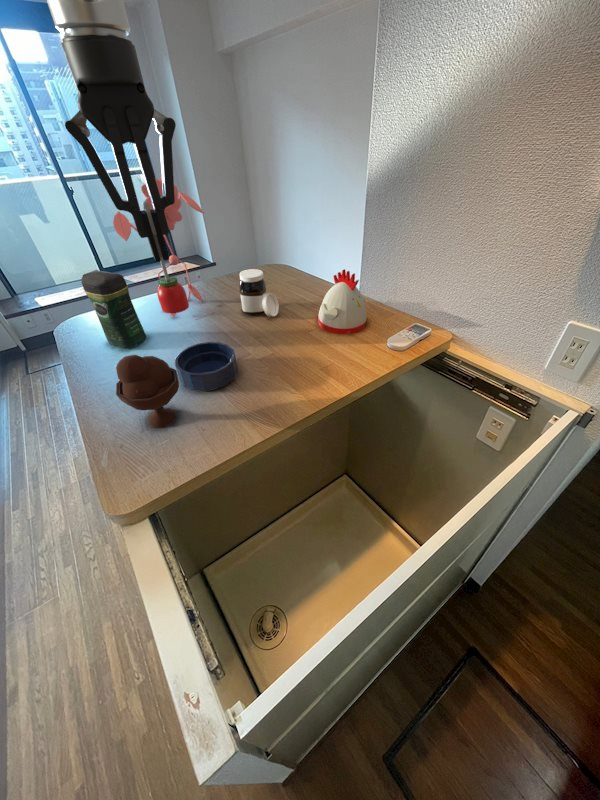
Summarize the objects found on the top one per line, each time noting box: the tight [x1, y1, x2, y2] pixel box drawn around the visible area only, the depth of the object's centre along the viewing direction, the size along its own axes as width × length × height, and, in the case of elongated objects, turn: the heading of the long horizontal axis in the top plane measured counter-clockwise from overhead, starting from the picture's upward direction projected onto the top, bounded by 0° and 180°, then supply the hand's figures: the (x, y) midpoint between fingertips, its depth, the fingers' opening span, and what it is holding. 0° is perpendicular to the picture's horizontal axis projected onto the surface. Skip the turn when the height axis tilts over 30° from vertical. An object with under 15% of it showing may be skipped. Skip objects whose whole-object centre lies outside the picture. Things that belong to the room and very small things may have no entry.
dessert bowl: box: [174, 341, 239, 392], centre depth 75 cm, size 13×13×5 cm
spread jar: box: [238, 268, 280, 318], centre depth 97 cm, size 12×11×12 cm
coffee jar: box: [80, 269, 147, 349], centre depth 83 cm, size 10×8×19 cm
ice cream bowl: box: [115, 354, 180, 429], centre depth 61 cm, size 11×11×15 cm
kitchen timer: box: [317, 268, 368, 335], centre depth 90 cm, size 14×14×15 cm
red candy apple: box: [142, 201, 190, 314], centre depth 52 cm, size 5×5×16 cm
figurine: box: [112, 175, 218, 321], centre depth 91 cm, size 15×26×35 cm, turn 147°
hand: (161, 257), depth 52 cm, fingers closed on red candy apple
